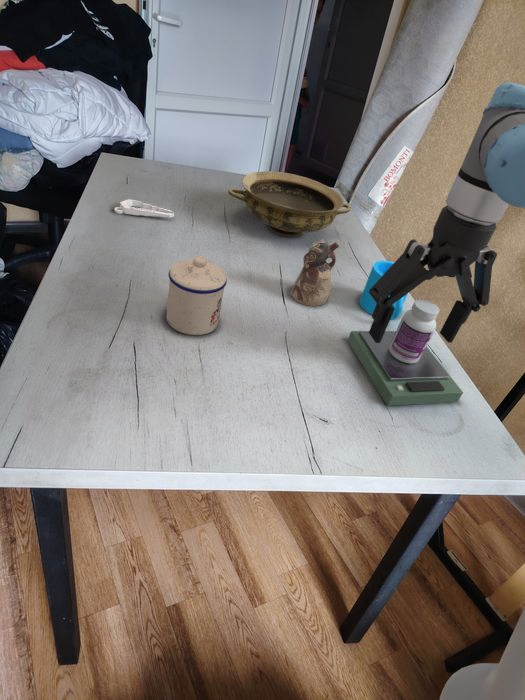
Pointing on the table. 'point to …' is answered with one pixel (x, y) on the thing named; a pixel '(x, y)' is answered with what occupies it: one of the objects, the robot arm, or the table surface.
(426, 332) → the pill bottle
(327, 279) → the figurine
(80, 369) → the table surface
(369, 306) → the mug
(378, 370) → the scale
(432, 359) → the scale pan
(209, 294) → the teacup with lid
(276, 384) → the table surface
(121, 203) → the white flat elongated piece
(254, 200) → the ceramic bowl
